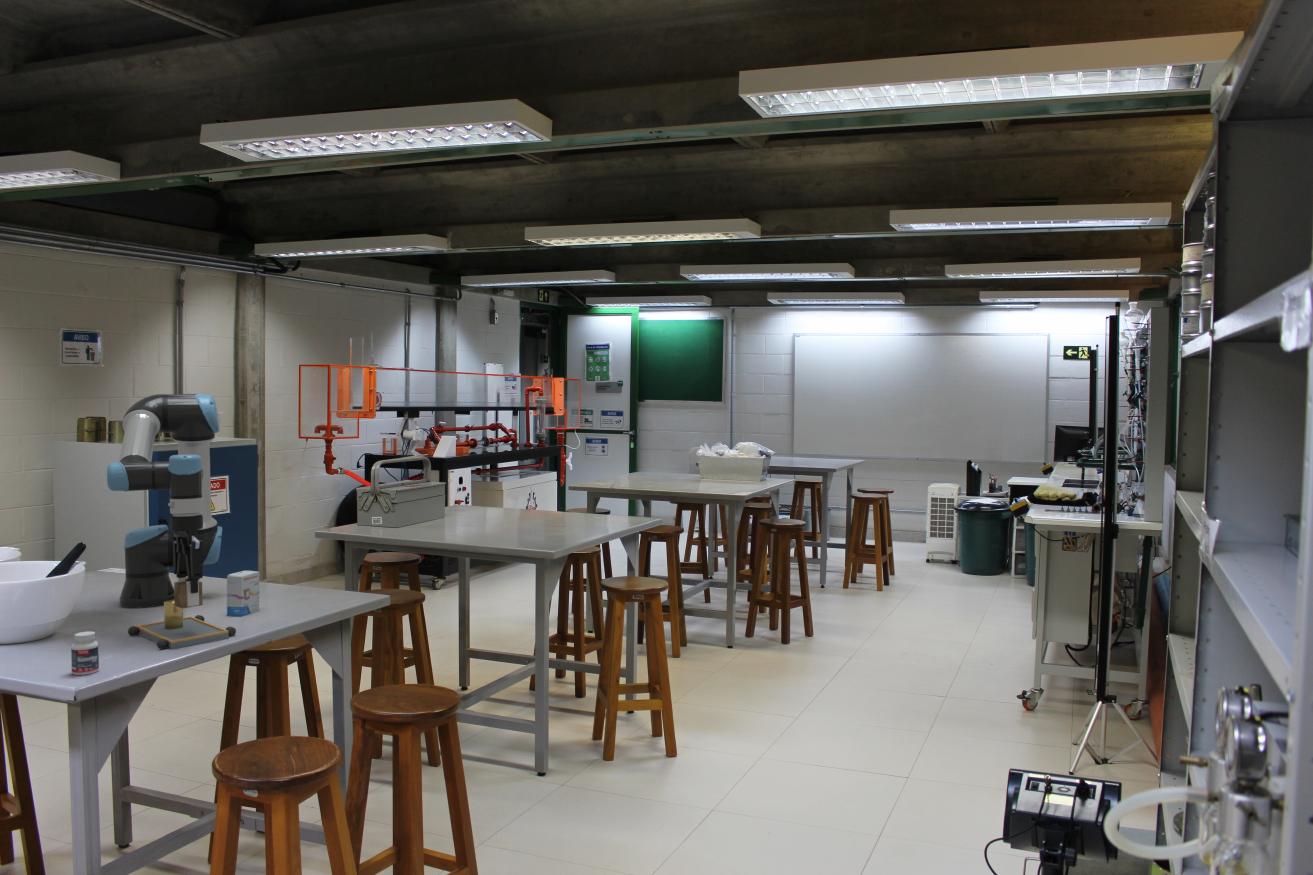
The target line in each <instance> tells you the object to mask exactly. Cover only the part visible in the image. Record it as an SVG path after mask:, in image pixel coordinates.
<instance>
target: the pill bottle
mask: <svg viewBox="0 0 1313 875" xmlns="http://www.w3.org/2000/svg"><path fill="white" fill-rule="evenodd" d="M95 640H96V632H95V631H81V632H80V631H79V632H77V633H75V634H74V642H75V643H73V644H72V645H71V649H70V650H71V655H70V656H71V659H70V660H71V674H72V675H75V676H85V675H90V674H94V673H97V672H98V671H99V669H100V663H99V662H100V658H99V656H100V655H99V653H100V652H99V643H98V642H97V640H96V641H95Z"/></svg>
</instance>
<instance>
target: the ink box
mask: <svg viewBox="0 0 1313 875" xmlns="http://www.w3.org/2000/svg"><path fill="white" fill-rule="evenodd" d="M258 611H260V571H254V570H242V571H238V572H233V573H229V574H228V575H227V576H226V616H231V617H243V616H247V615H249V614H253V613H255V612H258Z"/></svg>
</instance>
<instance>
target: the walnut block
mask: <svg viewBox="0 0 1313 875" xmlns="http://www.w3.org/2000/svg"><path fill="white" fill-rule="evenodd" d="M173 587H174V600H175V606H177V607H180V608H183V609H188V608H194V607H199V606H203V603H204V602H203V582H202V581H200V580H199V605H196V606H189V607H188V606H187V583H186V581H182V582H178V581H175V582H173Z"/></svg>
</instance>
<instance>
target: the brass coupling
mask: <svg viewBox="0 0 1313 875" xmlns="http://www.w3.org/2000/svg"><path fill="white" fill-rule="evenodd" d="M163 609H164V610H163V611H164V612H163V614H164V615H163V617H164V620H163V621H164V623H165V629H178V628H182V627H183V618H184V608H180V607H177V606H175V600H168V601H165V602H164V605H163Z"/></svg>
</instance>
